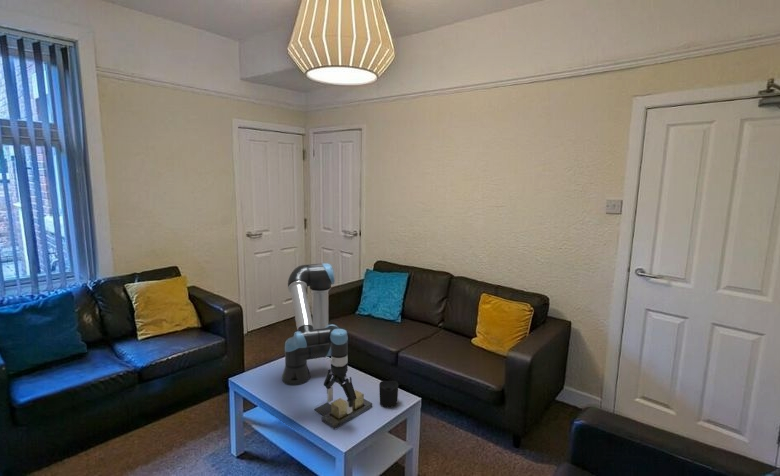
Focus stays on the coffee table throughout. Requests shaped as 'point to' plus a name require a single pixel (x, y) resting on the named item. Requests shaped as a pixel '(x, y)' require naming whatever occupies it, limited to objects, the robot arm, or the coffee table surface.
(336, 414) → the tan textured cube
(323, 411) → the rubber pad
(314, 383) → the coffee table surface
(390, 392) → the pen holder
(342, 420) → the rail
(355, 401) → the block
